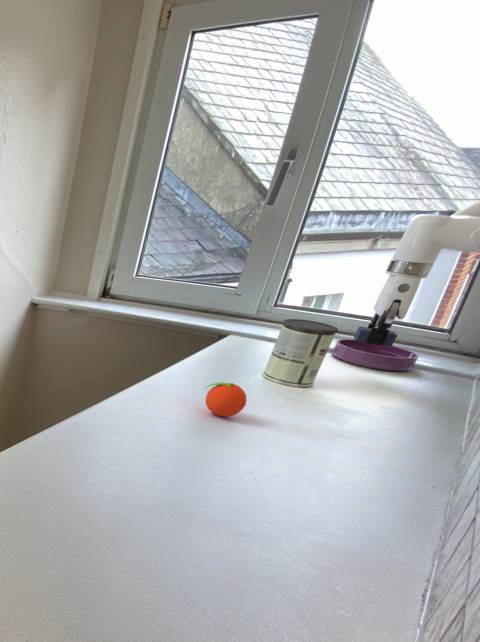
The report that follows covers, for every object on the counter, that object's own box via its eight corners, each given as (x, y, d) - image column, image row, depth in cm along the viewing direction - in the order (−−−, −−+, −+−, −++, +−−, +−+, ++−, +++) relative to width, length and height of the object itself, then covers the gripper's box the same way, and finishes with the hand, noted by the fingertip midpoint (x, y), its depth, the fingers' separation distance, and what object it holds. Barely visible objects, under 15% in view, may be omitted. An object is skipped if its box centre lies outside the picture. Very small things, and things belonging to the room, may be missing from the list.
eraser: (388, 343, 141) (394, 331, 139) (391, 347, 137) (397, 335, 136) (353, 337, 144) (359, 326, 143) (355, 341, 141) (361, 329, 139)
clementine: (196, 416, 113) (208, 384, 110) (193, 404, 118) (204, 374, 115) (241, 425, 110) (255, 392, 107) (236, 412, 115) (249, 381, 112)
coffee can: (265, 369, 142) (287, 316, 136) (314, 380, 136) (340, 325, 130) (258, 378, 136) (281, 323, 129) (309, 391, 129) (336, 333, 123)
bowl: (404, 361, 155) (411, 347, 153) (417, 377, 142) (425, 363, 140) (327, 348, 163) (333, 335, 162) (333, 362, 151) (340, 348, 149)
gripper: (437, 276, 124) (397, 352, 133) (421, 267, 137) (385, 337, 145) (394, 271, 128) (357, 346, 136) (382, 263, 141) (349, 332, 149)
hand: (372, 341), depth 141 cm, fingers closed on eraser, 4 cm apart
